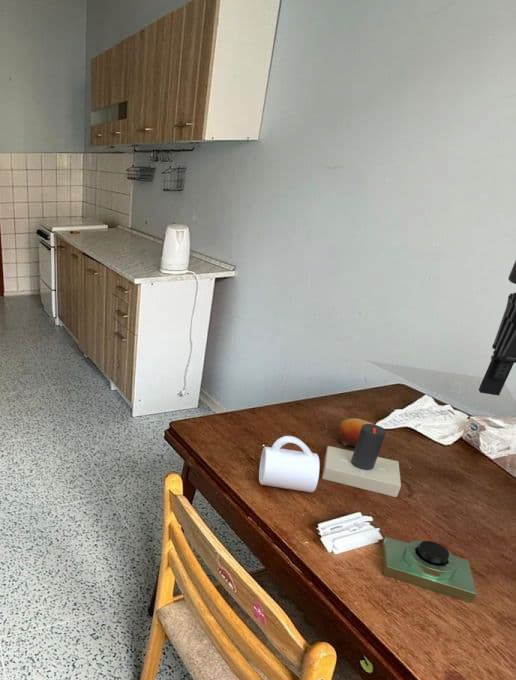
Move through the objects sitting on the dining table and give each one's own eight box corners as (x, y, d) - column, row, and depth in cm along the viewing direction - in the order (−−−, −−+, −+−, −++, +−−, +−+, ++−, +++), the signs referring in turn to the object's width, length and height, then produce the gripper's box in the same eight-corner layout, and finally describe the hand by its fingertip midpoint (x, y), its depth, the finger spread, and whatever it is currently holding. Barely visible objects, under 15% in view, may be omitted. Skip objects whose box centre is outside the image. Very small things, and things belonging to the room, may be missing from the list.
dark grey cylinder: (350, 456, 106) (362, 420, 101) (373, 461, 104) (386, 425, 100) (350, 466, 102) (362, 430, 98) (374, 472, 101) (387, 435, 96)
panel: (394, 472, 105) (398, 460, 104) (396, 497, 98) (401, 485, 96) (324, 456, 112) (328, 445, 110) (321, 478, 104) (325, 467, 102)
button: (443, 553, 79) (447, 545, 78) (447, 569, 76) (451, 561, 75) (415, 545, 81) (418, 537, 80) (417, 560, 78) (421, 553, 77)
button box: (463, 569, 81) (472, 552, 79) (471, 603, 75) (481, 586, 73) (382, 545, 86) (388, 528, 84) (383, 575, 80) (390, 558, 78)
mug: (312, 500, 98) (326, 452, 92) (259, 492, 100) (269, 444, 95) (307, 477, 104) (320, 431, 99) (258, 470, 107) (267, 424, 102)
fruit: (333, 445, 113) (343, 413, 113) (334, 446, 120) (343, 416, 119) (372, 455, 109) (382, 422, 109) (370, 456, 116) (380, 425, 115)
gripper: (595, 269, 68) (524, 412, 79) (566, 253, 78) (506, 382, 89) (528, 265, 71) (468, 403, 82) (508, 250, 81) (457, 375, 92)
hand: (488, 392), depth 86 cm, fingers closed
